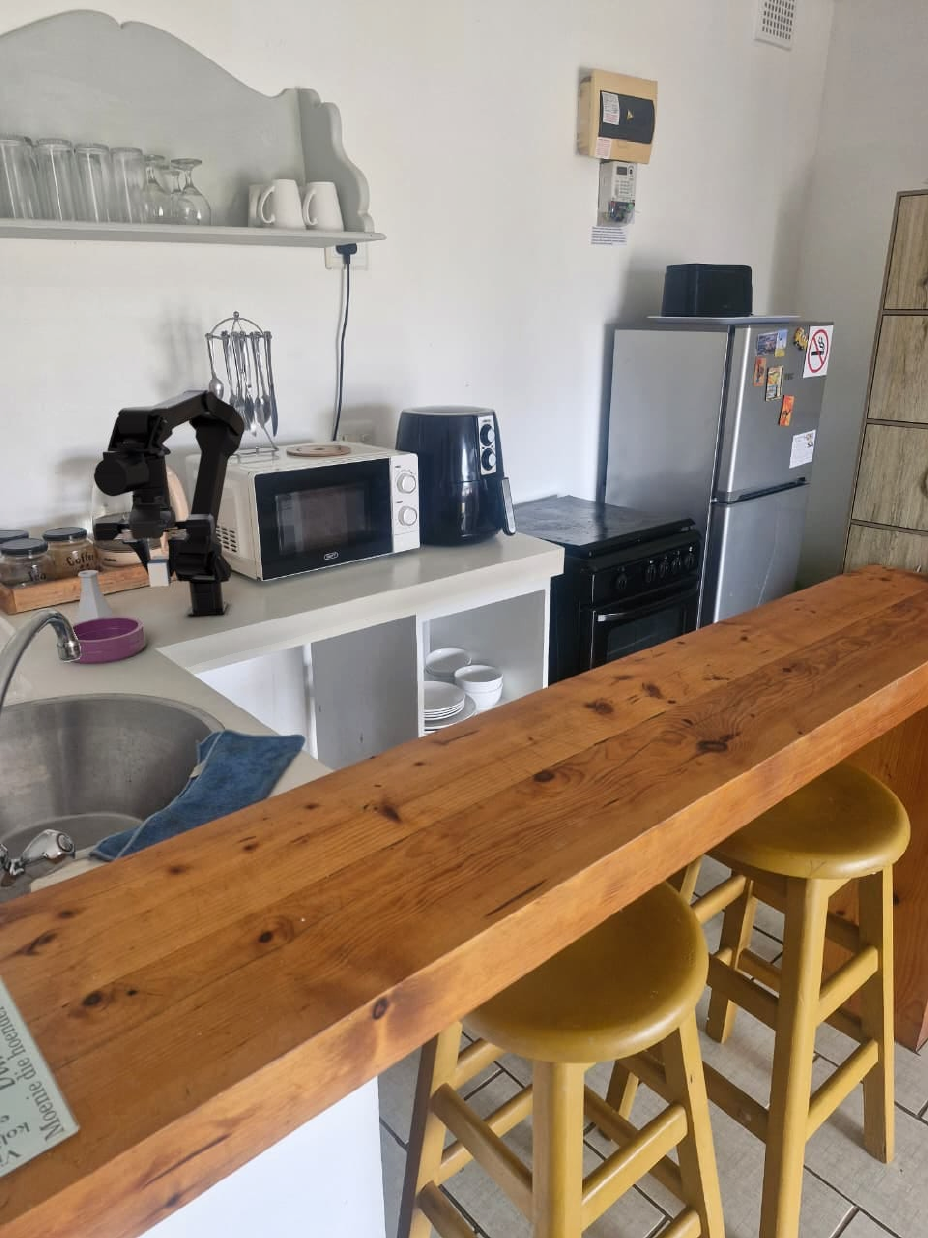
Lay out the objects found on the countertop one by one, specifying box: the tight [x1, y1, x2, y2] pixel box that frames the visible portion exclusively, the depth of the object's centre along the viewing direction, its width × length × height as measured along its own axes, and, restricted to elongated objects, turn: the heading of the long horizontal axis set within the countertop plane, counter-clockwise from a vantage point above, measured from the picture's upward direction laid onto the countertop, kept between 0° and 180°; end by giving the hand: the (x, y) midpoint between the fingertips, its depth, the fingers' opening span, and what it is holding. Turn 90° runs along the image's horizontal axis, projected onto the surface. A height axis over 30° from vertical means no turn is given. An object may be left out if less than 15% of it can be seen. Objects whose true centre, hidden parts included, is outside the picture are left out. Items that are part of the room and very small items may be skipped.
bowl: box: [72, 615, 147, 665], centre depth 144 cm, size 13×13×4 cm
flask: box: [74, 569, 117, 624], centre depth 155 cm, size 7×7×10 cm
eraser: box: [147, 554, 175, 588], centre depth 148 cm, size 6×3×4 cm, turn 9°
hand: (161, 576), depth 148 cm, fingers closed on eraser, 3 cm apart
